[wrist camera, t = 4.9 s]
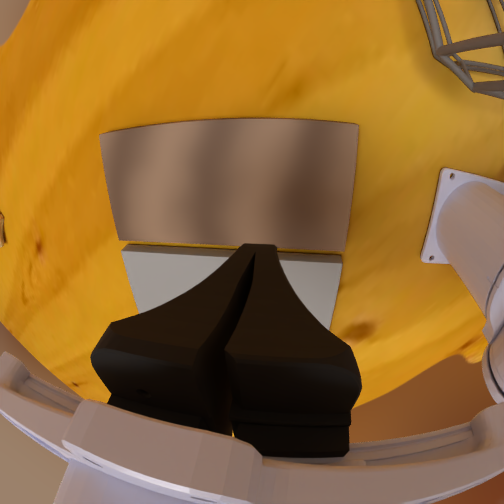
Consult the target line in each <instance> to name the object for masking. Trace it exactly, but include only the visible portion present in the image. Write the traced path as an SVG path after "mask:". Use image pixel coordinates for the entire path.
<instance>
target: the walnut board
mask: <svg viewBox="0 0 504 504" xmlns="http://www.w3.org/2000/svg"><path fill="white" fill-rule="evenodd" d="M358 130H359V125H357V124H355V123H347V122H337V121H326V120H313V119H295V118H223V119H205V120H191V121H180V122H171V123H162V124H154V125H147V126H140V127H133V128H127V129H121V130H116V131H111V132H106V133H103V134H100V135H99V137H100V145H101V152H102V159H103V165H104V171H105V177H106V183H107V188H108V193H109V198H110V203H111V208H112V212H113V217H114V221H115V226H116V230H117V234H118V238H119V240H123V241H146V242H168V243H189V244H210V245H230V246H241V245H243V244H244V243H251V244H274V245H275V246H276V247H277V248H289V249H308V250H327V251H345V245H346V238H347V232H348V225H349V218H350V211H351V204H352V196H353V187H354V178H355V168H356V157H357V145H358Z"/></svg>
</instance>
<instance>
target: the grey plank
mask: <svg viewBox="0 0 504 504" xmlns="http://www.w3.org/2000/svg"><path fill="white" fill-rule="evenodd" d="M235 251H236V250H227V249H208V248H188V247H169V246H150V245H130V244H127V245H126V246H125V247H124V248H123V249H122V250H121V253H122V257H123V261H124V264H125V268H126V272H127V275H128V279H129V282H130V286H131V289H132V292H133V296H134V299H135V302H136V305H137V308H138V311H139V314H140V313H143V312H146V311H148V310H151V309H153V308H155V307H158V306H160V305H162V304H164V303H166V302H168V301H170V300H172V299H174V298H176V297H177V296H179V295H181V294H183V293H185V292H186V291H188V290H190V289H191V288H193V287H194V286H196V285H197V284H199V283H200V282H201V281H203V280H204V279H206V278H207V277H208V276H209V275H210V274H212V273H213V272H214V271H215V270H216V269H218V268H219V267H220V266H221V265H222V264H223V263H224V262H225V261H226V260H227V259H228V258H229V257H230V256H231V255H232V254H233V253H234V252H235ZM277 254H278V257H279V261H280V263H281V266H282V268H283V270H284V273H285V275H286V277H287V279H288V281H289V283H290V284H291V286H292V288H293V289H294V291H295V293H296V294H297V296H298V297H299V298H300V300H301V301H302V302H303V304H304V305H305V306H306V308H307V309H308V310H309V311H310V312H311V313H312V314H313V315H314V316H315V318H316V319H317V320H318V321H319V322H320V323H321V324H322V325H323V326H324V327H325V328H327V329H328V330H329V328H330V324H331V319H332V315H333V310H334V306H335V301H336V296H337V291H338V286H339V281H340V275H341V270H342V264H343V263H342V260H341V256H340V255H322V254H303V253H284V252H277Z"/></svg>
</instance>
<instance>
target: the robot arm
mask: <svg viewBox="0 0 504 504" xmlns="http://www.w3.org/2000/svg"><path fill="white" fill-rule="evenodd" d="M451 173H453V176H452V177H451V178H450V174H451ZM432 255H433V256H432ZM430 256H432V257H431V258H430ZM420 258H421V260H422V261H423V262H424V263H440V264H451V265H452V267H453V268H454V270H455V271H456V272H457V274H458V275H459V277H460V278H461V280H462V281H463V283H464V284H465V286H466V287H467V289H468V290H469V292H470V293H471V295H472V296H473V298H474V299H475V301H476V303H477V304H478V306H479V308H480V309H481V311H482V313H483V314H484V316H485V318H486V319H487V321H486V324H485V326H484V328H483V330H482V331H483V333H484V335H485V337H486V339H487V341H488V343H489V344H488V345H487V347H486V349H485V351H484V353H483V357H482V371H483V375H484V379H485V382H486V385H487V387H488V390H489V392H490V394H491V396H492V397H493V399H494V400H495V401H496V403H497V404H496V405H494V406H491V407H488V408H486V409H484V410H482V411H481V412H479V413H478V414H477V415H476V416H475V417H474V418H473V419H472V420H471V422H468V423H464V424H461V425H457V426H454V427H450V428H446V429H442V430H438V431H433V432H429V433H424V434H419V435H414V436H408V437H403V438H396V439H389V440H381V441H372V442H361V443H349V426H350V425H351V409H352V408H353V406H354V404H355V402H356V401H357V399H358V397H359V395H360V392H361V389H362V383H361V376H360V372H359V368H358V365H357V362H356V359H355V357H354V354H353V352H352V349H351V347H350V346H349V345H348V344H346V343H345V342H343V341H342V340H341V339H339V338H338V337H337V336H335V335H334V334H333V333H331V332H330V331H329V330H328V329H327V328H325V327H324V326H323V325H322V324H321V323H320V322H319V321H318V320H317V319H316V318H315V316H314V315H313V314H312V313H311V312H310V311H309V310H308V309H307V308H306V306H305V305H304V304H303V302H302V301H301V300H300V298H299V297H298V296H297V294H296V293H295V291H294V289H293V288H292V286H291V284H290V283H289V281H288V279H287V277H286V275H285V273H284V270H283V268H282V266H281V263H280V261H279V257H278V254H277V247H276V246H275V245H274V244H251V243H244V244H243V245H241V246H240V247H239V248H238V249H237V250H236V251H235V252H234V253H233V254H232V255H231V256H230V257H229V258H228V259H227V260H226V261H225V262H224V263H223V264H222V265H221V266H220V267H219V268H218V269H216V270H215V271H214V272H213V273H212V274H210V275H209V276H208V277H207V278H206V279H204V280H203V281H201V282H200V283H199V284H197V285H196V286H194V287H193V288H191V289H190V290H188V291H186V292H185V293H183V294H181V295H179V296H177V297H176V298H174V299H172V300H170V301H168V302H166V303H164V304H162V305H160V306H158V307H155V308H153V309H151V310H148V311H146V312H143V313H140V314H138V315H135V316H131V317H128V318H125V319H122V320H118V321H115V322H111V324H110V325H109V326H108V328H107V329H106V331H105V333H104V334H103V336H102V337H101V339H100V340H99V342H98V343H97V345H96V347H95V348H94V350H93V351H92V354H91V357H90V358H91V363H92V366H93V368H94V370H95V371H96V373H97V374H98V376H99V377H100V379H101V380H102V382H103V383H104V384H105V386H106V387H107V388H108V390H109V391H110V392H111V396H110V398H109V401H108V403H107V404H106V403H103V402H99V401H95V400H91V399H87V400H85V399H83V398H80V397H78V396H76V395H73V394H71V393H69V392H67V391H64V390H62V389H60V388H58V387H56V386H54V385H52V384H50V383H48V382H46V381H44V380H42V379H40V378H38V377H37V376H35V375H33V374H31V373H30V372H29V370H28V369H27V367H26V366H25V365H24V364H23V363H22V362H21V361H20V360H19V359H18V358H16V357H15V356H13V355H11V354H9V353H8V352H5V351H4V353H3V354H2V356H1V357H0V413H1V414H2V415H3V416H4V417H5V418H6V419H7V420H9V421H10V422H11V423H12V424H13V425H14V426H16V427H17V428H18V429H20V430H21V431H22V432H24V433H25V434H26V435H28V436H29V437H30V438H32V439H33V440H35V441H36V442H37V443H39V444H40V445H42V446H43V447H45V448H46V449H48V450H49V451H51V452H52V453H54V454H55V455H57V456H59V457H60V458H62V459H63V460H65V461H67V462H68V463H69V465H68V467H67V470H66V472H65V475H64V477H63V479H62V482H61V484H60V487H59V489H58V492H57V495H56V497H55V500H54V503H53V504H431V503H434V502H437V501H440V500H442V499H445V498H448V497H450V496H453V495H456V494H458V493H461V492H463V491H466V490H468V489H470V488H473V487H475V486H477V485H479V484H481V483H483V482H485V481H487V480H489V479H490V478H492V477H494V476H496V475H498V474H500V473H501V472H503V471H504V182H501V181H498V180H494V179H491V178H487V177H483V176H480V175H476V174H472V173H468V172H464V171H460V170H455V169H451V168H443V169H442V170H441V172H440V177H439V182H438V188H437V193H436V197H435V202H434V207H433V211H432V215H431V219H430V223H429V227H428V231H427V235H426V239H425V242H424V246H423V249H422V252H421V256H420ZM232 432H233V433H234V437H235V438H234V437H232Z"/></svg>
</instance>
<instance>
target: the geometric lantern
mask: <svg viewBox="0 0 504 504" xmlns="http://www.w3.org/2000/svg"><path fill="white" fill-rule="evenodd" d="M423 1H424V4H425V8H426V11H427V15H428V19H429V22H428V19H427V16H426V13H425V11H424V8H423V5H422V2H421V0H416V2H417V5H418V7H419V10H420V13H421V16H422V19H423V22H424V25H425V28H426V31H427V34H428V38H429V41H430V45H431V49H432V53H433V55H434V58H435V59H437V60H438V61H440V62H441V63H442V64H444V65H445V66H447V67H448V68H449V69H450V70H451V71H452V72H453V73H454V74H455V75H456V76H457V77H458V78H459V79H460V80H461V81H462V82H463V83H464V84H465V85H466V86H467V87H468V88H469V89H470V90H471V91H472V92H474V93H475V92H477V93H481V94H485V95H489V96H493V97H497V98H500V99H504V80H501V81H487V82H476V83H474V82H473V80H472V78H471V76H470V74H469V71H468V70H472V71H479V72H485V73H491V74H496V75H501V76H504V72H502V71H504V67H501V66H497V65H492V64H487V63H481V62H475V61H468V60H462V59H461V58H460V57H459V56H458V55H457V54H456V53H459V52H464V51H470V50H475V49H481V48H488V47H495V46H502V47H503V51H504V32H503V33H502V31H501V28H500V25H499V22H498V19H497V16H496V13H495V10H494V8H493V5H492V2H491V0H487V1H488V4H489V6H490V9H491V12H492V14H493V17H494V20H495V23H496V26H497V29H498V33H497V34H491V35H486V36H481V37H476V38H471V39H467V40H463V41H459V42H455V43H452V40H451V37H450V34H449V30H448V27H447V24H446V21H445V18H444V15H443V12H442V10H441V7H440V4H439V2H438V0H433V1H434V4H435V7H436V9H437V12H438V15H439V18H440V21H441V24H442V27H443V30H444V33H445V37H446V40H447V44H448V45H444V46H443V41H442V36H441V32H440V27H439V23H438V19H437V15H436V12H435V8H434V5H433V1H432V0H423ZM499 1H500V3H501V5H502V8H503V10H504V2H503V0H499ZM429 23H430V25H429ZM430 27H431V29H430ZM431 31H432V32H431ZM449 56H453V57H454V58H455V59H456V60H457V61H454V62H453V61H452V60H451V59H450V58H449ZM468 65H469V66H468ZM475 66H476V67H475ZM481 67H483V68H481ZM487 68H488V69H487ZM461 69H463V71H462V70H461ZM492 69H494V70H492ZM497 70H499V71H497Z"/></svg>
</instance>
